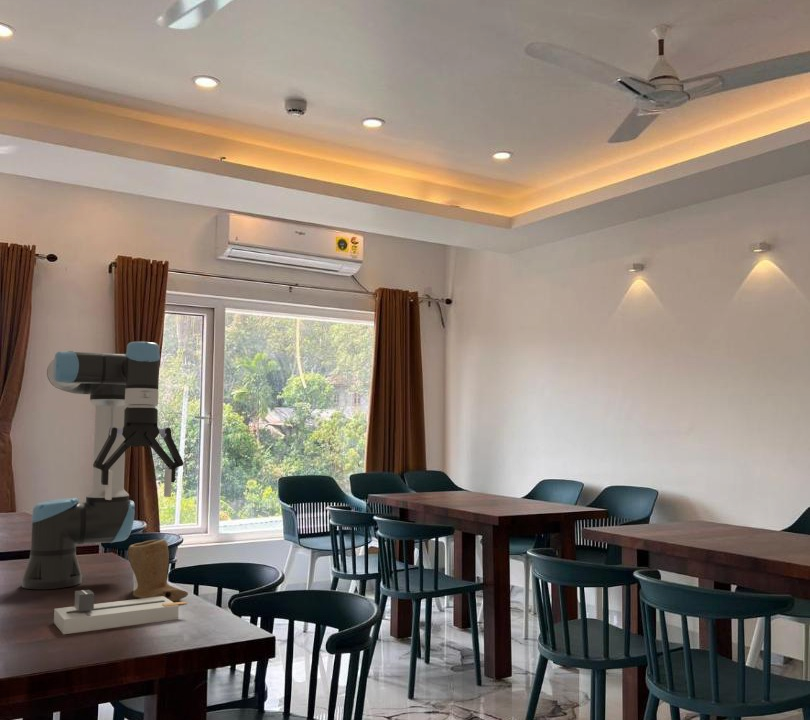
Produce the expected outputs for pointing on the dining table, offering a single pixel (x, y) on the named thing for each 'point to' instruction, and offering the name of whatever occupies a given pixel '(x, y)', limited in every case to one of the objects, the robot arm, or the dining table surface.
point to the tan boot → (152, 570)
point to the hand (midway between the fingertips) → (138, 498)
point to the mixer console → (116, 614)
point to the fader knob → (84, 600)
